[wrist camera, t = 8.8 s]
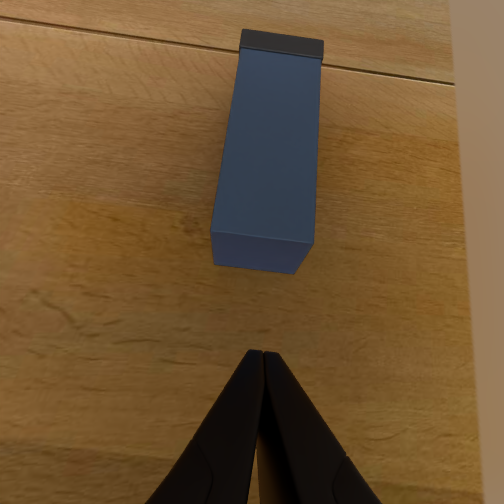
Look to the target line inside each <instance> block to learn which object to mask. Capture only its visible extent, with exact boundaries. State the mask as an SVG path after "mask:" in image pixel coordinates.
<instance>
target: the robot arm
mask: <svg viewBox="0 0 504 504" xmlns="http://www.w3.org/2000/svg"><path fill="white" fill-rule="evenodd" d="M255 449H257V465H258V480H259V496H260V504H382V503H381V502H380V500H379V499H378V498H377V496H376V495H375V494H374V493H373V491H372V490H371V488H370V487H369V485H368V484H367V483H366V481H365V480H364V478H363V477H362V476H361V474H360V473H359V471H358V470H357V468H356V467H355V465H354V464H353V462H352V461H351V459H350V458H349V457H348V456H346V452H345V451H344V449H343V448H342V446H341V445H340V443H339V442H338V440H337V439H336V437H335V436H334V434H333V433H332V431H331V430H330V428H329V427H328V425H327V424H326V422H325V421H324V420H323V418H322V417H321V415H320V414H319V412H318V411H317V409H316V408H315V406H314V405H313V403H312V402H311V400H310V399H309V397H308V396H307V394H306V393H305V391H304V390H303V388H302V387H301V385H300V384H299V382H298V381H297V379H296V378H295V376H294V375H293V373H292V372H291V370H290V369H289V367H288V366H287V364H286V363H285V362H284V360H283V359H282V357H281V356H280V354H279V353H277V352H269V351H265V352H264V353H263V352H262V351H261V350H252V349H249V350H248V351H247V352H246V354H245V355H244V357H243V359H242V360H241V362H240V363H239V365H238V366H237V368H236V370H235V371H234V373H233V374H232V376H231V378H230V379H229V381H228V382H227V384H226V385H225V387H224V389H223V390H222V392H221V393H220V395H219V396H218V398H217V400H216V401H215V403H214V404H213V406H212V408H211V409H210V411H209V412H208V414H207V415H206V417H205V419H204V420H203V422H202V423H201V425H200V426H199V428H198V430H197V431H196V433H195V434H194V436H193V439H192V440H190V442H189V443H188V445H187V447H186V448H185V450H184V451H183V453H182V454H181V456H180V457H179V459H178V460H177V462H176V463H175V465H174V466H173V468H172V469H171V471H170V472H169V473H168V475H167V476H166V477H165V479H164V480H163V481H162V482H161V484H160V485H159V486H158V488H157V489H156V490H155V491H154V493H153V494H152V495H151V496H150V498H149V499H148V500H147V501H146V503H145V504H247V500H248V494H249V487H250V481H251V474H252V468H253V461H254V455H255Z"/></svg>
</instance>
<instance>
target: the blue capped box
mask: <svg viewBox="0 0 504 504" xmlns="http://www.w3.org/2000/svg"><path fill="white" fill-rule="evenodd" d="M323 52H324V41H323V40H319V39H312V38H305V37H298V36H291V35H284V34H277V33H270V32H263V31H256V30H249V29H242V33H241V39H240V45H239V62H238V68H237V74H236V80H235V85H234V91H233V97H232V103H231V109H230V115H229V121H228V127H227V133H226V139H225V145H224V151H223V157H222V163H221V169H220V175H219V181H218V186H217V192H216V198H215V204H214V210H213V216H212V222H211V228H210V233H211V242H212V250H213V259H214V264H215V265H223V266H231V267H239V268H247V269H255V270H263V271H271V272H280V273H288V274H294V273H295V272H296V270H297V269H298V267H299V266H300V264H301V263H302V261H303V260H304V258H305V257H306V255H307V253H308V252H309V250H310V249H311V247H312V246H313V244H314V233H315V207H316V182H317V156H318V131H319V105H320V79H321V64H322V60H323Z"/></svg>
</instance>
